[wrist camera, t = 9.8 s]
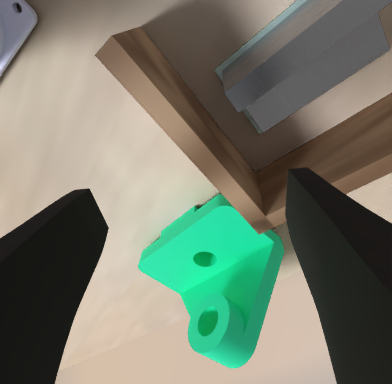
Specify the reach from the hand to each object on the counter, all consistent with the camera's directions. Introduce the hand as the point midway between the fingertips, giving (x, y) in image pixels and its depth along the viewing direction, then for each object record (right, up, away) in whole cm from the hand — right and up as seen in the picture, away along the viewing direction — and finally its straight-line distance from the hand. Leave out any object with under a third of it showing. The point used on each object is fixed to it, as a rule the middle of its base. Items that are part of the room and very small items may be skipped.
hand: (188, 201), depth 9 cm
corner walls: (+6, +8, +6) cm, 12 cm away
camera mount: (+1, -4, +17) cm, 17 cm away
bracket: (+7, +8, +6) cm, 12 cm away
